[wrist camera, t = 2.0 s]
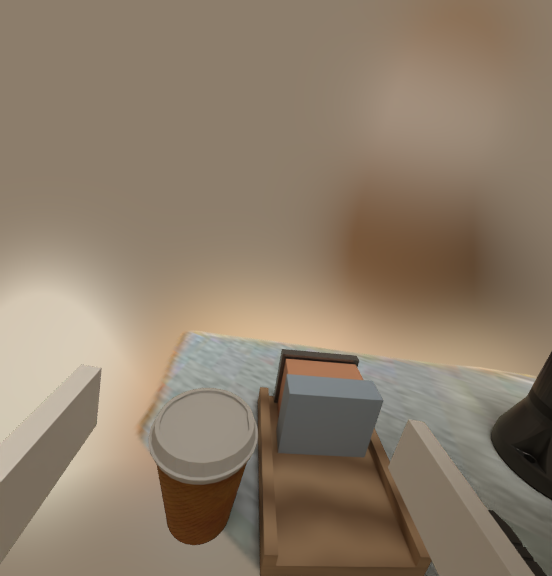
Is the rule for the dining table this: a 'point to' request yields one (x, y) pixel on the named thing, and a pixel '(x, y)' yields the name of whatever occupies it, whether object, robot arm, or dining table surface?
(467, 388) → the dining table surface
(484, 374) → the dining table surface
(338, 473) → the wooden serving tray
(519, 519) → the dining table surface
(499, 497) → the dining table surface
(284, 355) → the bookend
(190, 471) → the disposable coffee cup
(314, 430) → the books
